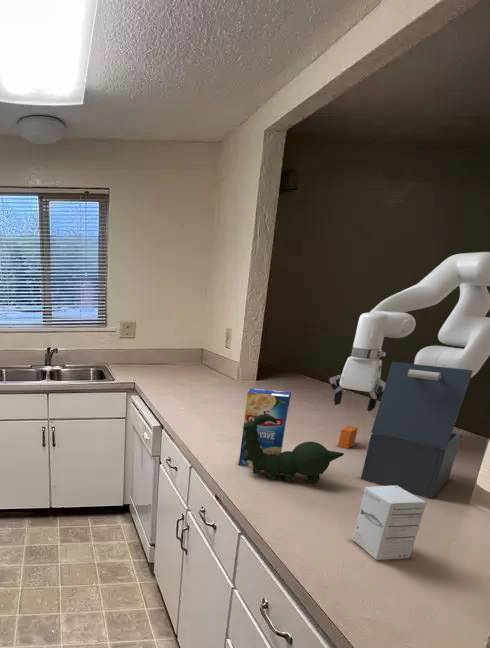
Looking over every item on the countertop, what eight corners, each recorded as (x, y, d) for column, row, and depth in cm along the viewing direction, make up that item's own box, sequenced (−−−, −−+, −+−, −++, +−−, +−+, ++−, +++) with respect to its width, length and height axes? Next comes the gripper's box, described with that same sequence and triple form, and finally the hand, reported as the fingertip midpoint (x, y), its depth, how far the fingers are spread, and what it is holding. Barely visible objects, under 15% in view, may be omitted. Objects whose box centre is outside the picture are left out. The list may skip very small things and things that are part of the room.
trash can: (382, 462, 131) (392, 421, 127) (448, 478, 120) (462, 434, 115) (360, 478, 120) (371, 434, 116) (431, 498, 109) (445, 450, 104)
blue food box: (277, 471, 125) (289, 397, 118) (238, 464, 130) (247, 392, 122) (279, 463, 131) (291, 391, 123) (242, 457, 136) (250, 388, 128)
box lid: (393, 362, 112) (387, 360, 108) (473, 370, 100) (469, 368, 97) (371, 432, 116) (365, 433, 112) (446, 448, 104) (442, 449, 101)
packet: (344, 442, 148) (348, 425, 146) (354, 444, 146) (358, 427, 144) (337, 446, 144) (341, 429, 142) (347, 448, 142) (351, 431, 140)
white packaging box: (350, 540, 91) (363, 485, 87) (383, 538, 92) (398, 484, 87) (375, 561, 84) (391, 503, 80) (411, 559, 85) (428, 501, 80)
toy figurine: (241, 483, 121) (343, 490, 112) (242, 418, 115) (351, 419, 106) (242, 471, 129) (338, 476, 120) (244, 409, 123) (344, 410, 114)
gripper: (401, 356, 131) (387, 411, 137) (340, 350, 143) (329, 400, 149) (393, 358, 126) (379, 415, 132) (331, 351, 139) (320, 403, 144)
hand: (353, 407), depth 141 cm, fingers open, 9 cm apart
